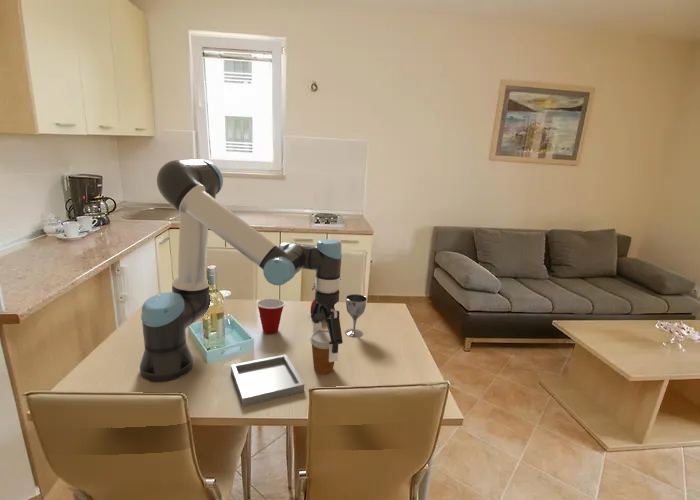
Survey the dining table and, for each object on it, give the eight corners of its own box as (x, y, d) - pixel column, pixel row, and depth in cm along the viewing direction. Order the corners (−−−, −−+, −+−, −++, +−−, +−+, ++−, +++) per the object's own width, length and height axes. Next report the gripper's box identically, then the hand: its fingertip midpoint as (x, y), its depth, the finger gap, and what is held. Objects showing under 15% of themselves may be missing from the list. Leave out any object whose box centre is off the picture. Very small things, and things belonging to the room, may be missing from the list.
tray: (242, 406, 106) (242, 398, 106) (231, 371, 122) (230, 364, 121) (304, 391, 114) (304, 384, 114) (285, 360, 130) (286, 354, 129)
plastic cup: (287, 325, 155) (288, 298, 152) (280, 338, 144) (280, 309, 141) (261, 323, 156) (261, 295, 152) (252, 335, 145) (252, 306, 142)
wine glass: (341, 335, 149) (343, 300, 145) (346, 327, 157) (349, 292, 153) (361, 339, 148) (364, 303, 144) (365, 330, 155) (368, 295, 151)
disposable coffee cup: (305, 363, 129) (307, 331, 126) (332, 359, 132) (334, 327, 129) (313, 379, 121) (314, 345, 117) (341, 374, 124) (344, 341, 121)
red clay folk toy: (320, 322, 159) (322, 288, 155) (306, 318, 162) (307, 285, 158) (329, 316, 166) (331, 283, 162) (315, 312, 169) (317, 280, 165)
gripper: (356, 302, 110) (352, 367, 116) (323, 275, 131) (320, 331, 137) (332, 306, 107) (329, 373, 112) (302, 277, 128) (300, 334, 134)
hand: (324, 350), depth 125 cm, fingers open, 13 cm apart
